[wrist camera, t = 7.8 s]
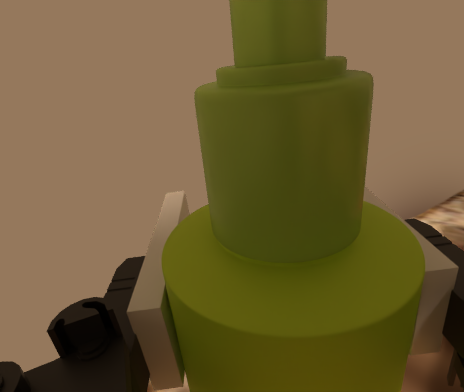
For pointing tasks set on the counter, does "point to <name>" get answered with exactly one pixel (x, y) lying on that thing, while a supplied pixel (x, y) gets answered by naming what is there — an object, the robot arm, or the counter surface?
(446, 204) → the counter surface
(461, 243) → the counter surface
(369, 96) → the soap dispenser
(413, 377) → the u rest
